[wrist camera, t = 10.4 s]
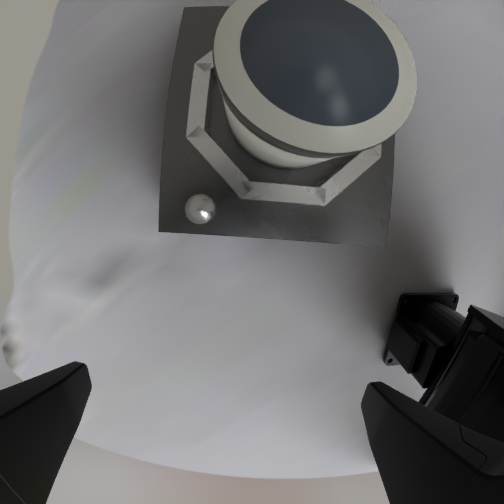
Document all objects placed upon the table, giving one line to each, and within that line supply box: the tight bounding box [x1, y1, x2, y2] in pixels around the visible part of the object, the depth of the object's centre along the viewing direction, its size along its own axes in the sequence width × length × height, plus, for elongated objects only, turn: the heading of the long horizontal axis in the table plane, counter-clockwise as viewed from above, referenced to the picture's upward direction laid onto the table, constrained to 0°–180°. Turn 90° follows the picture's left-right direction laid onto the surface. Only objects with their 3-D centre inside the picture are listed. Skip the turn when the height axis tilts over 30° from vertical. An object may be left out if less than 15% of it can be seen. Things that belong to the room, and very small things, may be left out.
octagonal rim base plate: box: [159, 6, 395, 247], centre depth 15 cm, size 12×13×6 cm
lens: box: [212, 0, 417, 169], centre depth 10 cm, size 6×6×7 cm
